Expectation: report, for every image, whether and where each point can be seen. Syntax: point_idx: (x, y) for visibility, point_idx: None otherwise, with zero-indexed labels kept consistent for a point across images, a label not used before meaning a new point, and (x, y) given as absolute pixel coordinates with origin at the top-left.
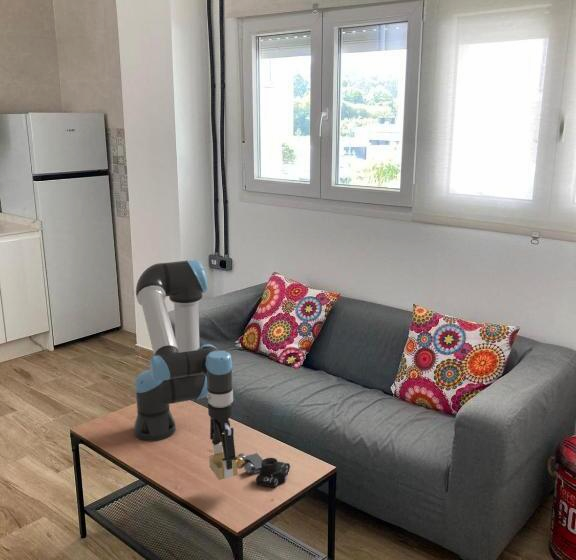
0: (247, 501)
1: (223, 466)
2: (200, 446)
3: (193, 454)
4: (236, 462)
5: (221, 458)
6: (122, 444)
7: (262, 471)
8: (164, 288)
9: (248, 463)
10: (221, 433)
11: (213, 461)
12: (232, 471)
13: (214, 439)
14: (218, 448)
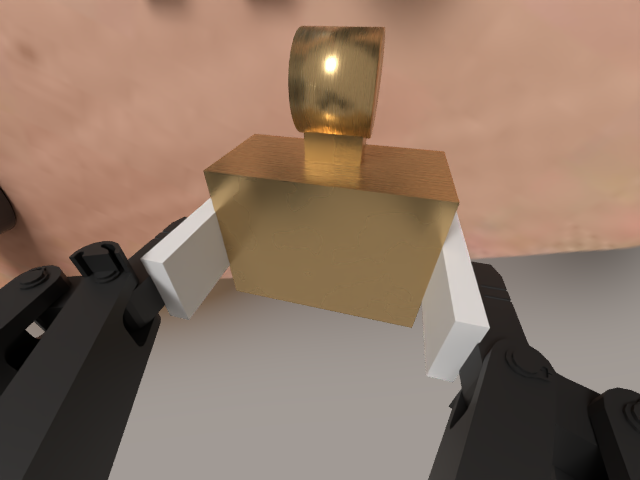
0: (517, 87)
1: (416, 299)
2: (3, 83)
3: (68, 135)
4: (360, 135)
5: (300, 258)
6: (45, 262)
7: None
8: None
9: None
10: (47, 454)
11: (312, 306)
12: (457, 222)
13: (138, 382)
14: (197, 267)
